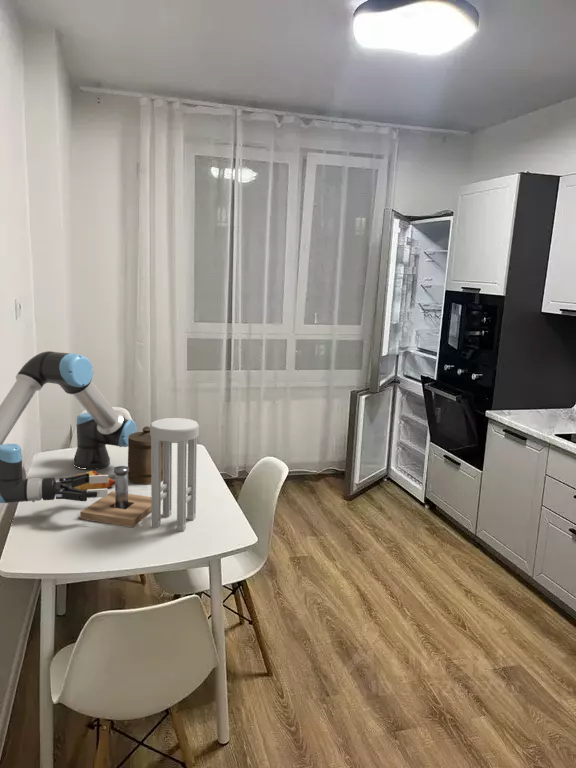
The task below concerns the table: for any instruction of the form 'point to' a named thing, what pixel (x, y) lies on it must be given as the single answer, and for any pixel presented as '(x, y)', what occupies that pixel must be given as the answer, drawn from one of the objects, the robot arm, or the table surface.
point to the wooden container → (141, 457)
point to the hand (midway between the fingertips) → (108, 485)
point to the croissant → (95, 485)
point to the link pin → (121, 487)
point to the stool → (169, 433)
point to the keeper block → (118, 510)
